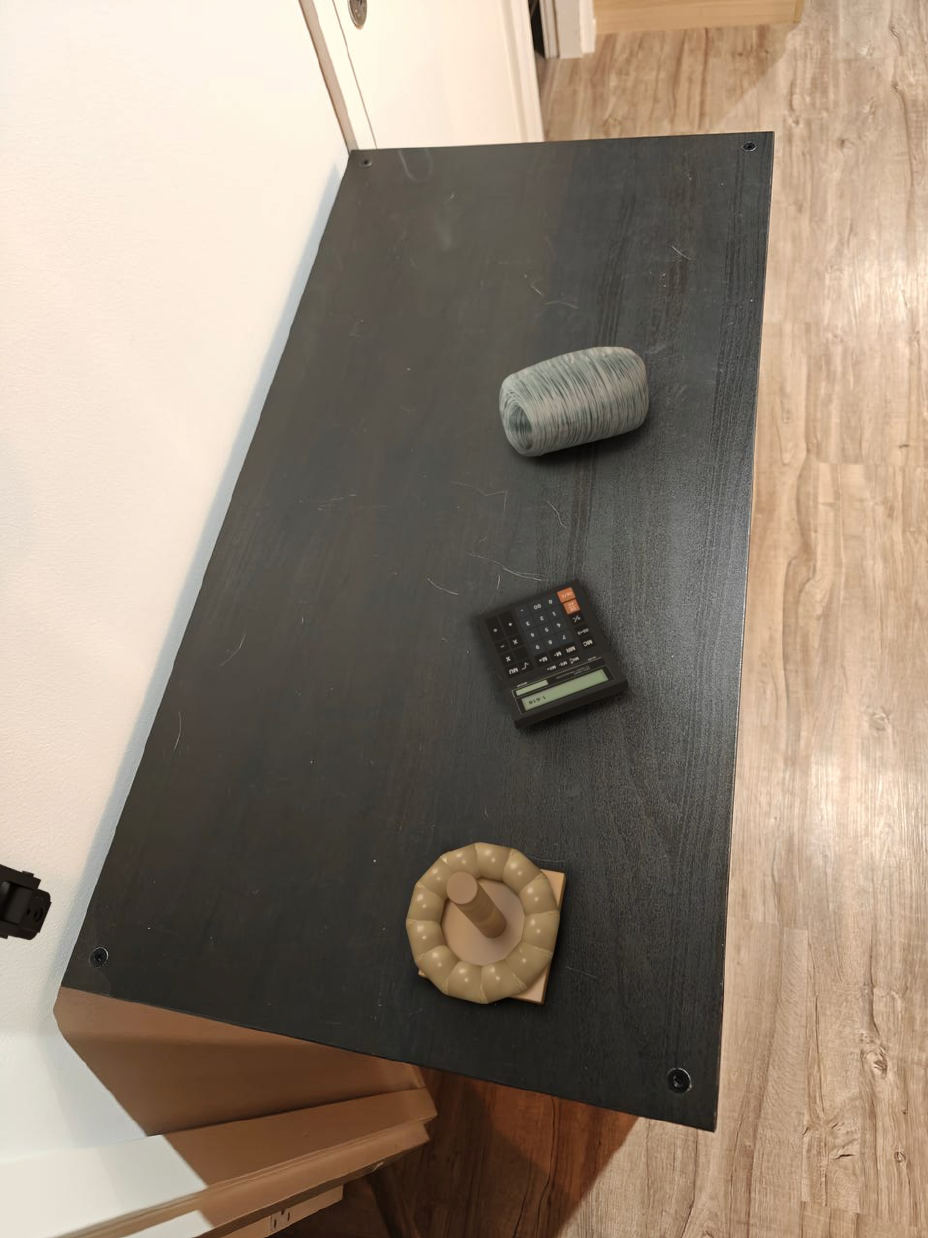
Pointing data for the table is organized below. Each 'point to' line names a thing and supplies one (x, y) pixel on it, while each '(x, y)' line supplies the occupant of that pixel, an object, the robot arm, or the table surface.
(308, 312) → the table surface
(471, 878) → the wooden peg stand
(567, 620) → the calculator
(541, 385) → the spool
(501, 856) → the segmented beige ring
